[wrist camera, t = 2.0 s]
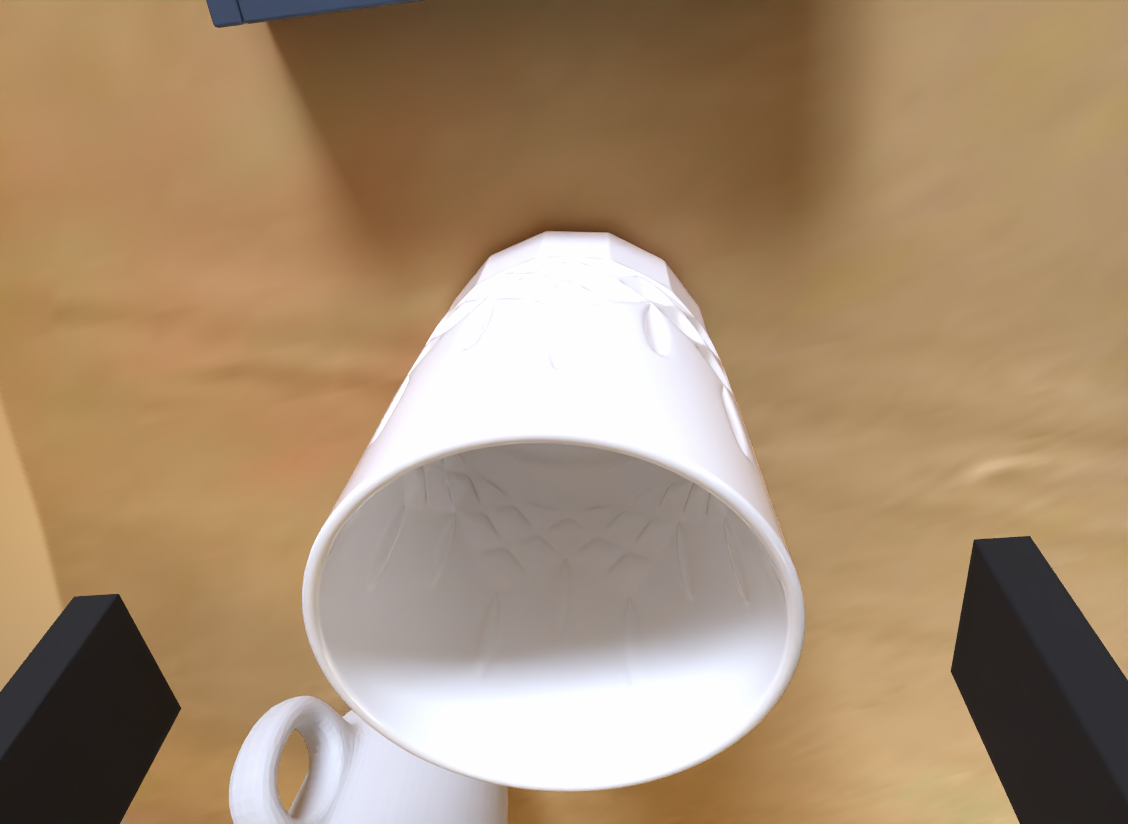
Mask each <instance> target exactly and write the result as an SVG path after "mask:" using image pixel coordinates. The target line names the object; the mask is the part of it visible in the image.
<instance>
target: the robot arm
mask: <svg viewBox="0 0 1128 824" xmlns="http://www.w3.org/2000/svg"><path fill="white" fill-rule="evenodd" d="M951 673H952V675H953V677H954V679H955V682H956V684H957V686H958V688H959V690H960V693H961V695H962V697H963V699H964V701H965V704H966V706H967V708H968V710H969V712H970V715H971V717H972V719H973V721H974V723H975V726H976V728H977V730H978V732H979V734H980V737H981V739H982V741H983V743H984V745H985V748H986V750H987V752H988V754H989V756H990V759H991V761H992V763H993V765H994V767H995V770H996V772H997V774H998V776H999V778H1000V781H1001V783H1002V785H1003V787H1004V789H1005V792H1006V794H1007V796H1008V798H1009V800H1010V803H1011V805H1012V807H1013V809H1014V811H1015V814H1016V816H1017V818H1018V820H1019V823H1020V824H1128V680H1127V679H1126V677H1125V676H1124V674H1123V673H1122V671H1121V670H1120V668H1119V667H1118V665H1117V664H1116V662H1115V661H1114V659H1113V658H1112V657H1111V655H1110V654H1109V652H1108V651H1107V649H1106V648H1105V646H1104V645H1103V643H1102V642H1101V640H1100V639H1099V637H1098V636H1097V634H1096V633H1095V631H1094V630H1093V628H1092V627H1091V626H1090V624H1089V623H1088V621H1087V620H1086V618H1085V617H1084V615H1083V614H1082V612H1081V611H1080V609H1079V608H1078V606H1077V605H1076V603H1075V602H1074V600H1073V599H1072V598H1071V596H1070V595H1069V593H1068V592H1067V590H1066V589H1065V587H1064V586H1063V584H1062V583H1061V581H1060V580H1059V578H1058V577H1057V575H1056V574H1055V572H1054V571H1053V570H1052V568H1051V567H1050V565H1049V564H1048V562H1047V561H1046V559H1045V558H1044V556H1043V555H1042V553H1041V552H1040V550H1039V549H1038V547H1037V546H1036V544H1035V543H1034V542H1033V540H1032V539H1031V537H1030V536H1024V537H1008V538H993V539H977V540H974V543H973V548H972V554H971V560H970V565H969V571H968V577H967V582H966V588H965V594H964V599H963V605H962V611H961V616H960V622H959V628H958V633H957V639H956V645H955V650H954V656H953V662H952V667H951ZM180 710H181V707H180V705H179V703H178V702H177V700H176V698H175V696H174V694H173V692H172V691H171V689H170V687H169V685H168V683H167V681H166V680H165V678H164V676H163V674H162V672H161V670H160V669H159V667H158V665H157V663H156V661H155V659H154V658H153V656H152V654H151V652H150V650H149V648H148V647H147V645H146V643H145V641H144V639H143V637H142V636H141V634H140V632H139V630H138V628H137V626H136V625H135V623H134V621H133V619H132V617H131V615H130V614H129V612H128V610H127V608H126V606H125V604H124V603H123V601H122V599H121V597H120V595H119V594H109V595H94V596H78V597H74V598H73V599H72V600H71V601H70V603H69V604H68V605H67V607H66V608H65V609H64V610H63V612H62V613H61V614H60V616H59V617H58V618H57V620H56V621H55V622H54V623H53V625H52V626H51V627H50V629H49V630H48V631H47V632H46V634H45V635H44V636H43V638H42V639H41V640H40V642H39V643H38V644H37V645H36V647H35V648H34V649H33V651H32V652H31V653H30V654H29V656H28V657H27V659H26V660H25V661H24V662H23V664H22V665H21V666H20V667H19V669H18V670H17V671H16V673H15V674H14V675H13V677H12V678H11V679H10V680H9V682H8V683H7V684H6V686H5V687H4V688H3V689H2V691H1V692H0V824H120V822H121V821H122V819H123V817H124V815H125V813H126V811H127V809H128V807H129V806H130V804H131V802H132V800H133V798H134V796H135V794H136V792H137V790H138V789H139V787H140V785H141V783H142V781H143V779H144V777H145V775H146V774H147V772H148V770H149V768H150V766H151V764H152V762H153V760H154V758H155V757H156V755H157V753H158V751H159V749H160V747H161V745H162V743H163V742H164V740H165V738H166V736H167V734H168V732H169V730H170V728H171V727H172V725H173V723H174V721H175V719H176V717H177V715H178V713H179V711H180Z"/></svg>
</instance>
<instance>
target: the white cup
mask: <svg viewBox="0 0 1128 824" xmlns="http://www.w3.org/2000/svg"><path fill="white" fill-rule="evenodd" d="M302 611H303V619H304V625H305V629H306V633H307V637H308V640H309V643H310V646H311V649H312V651H313V654H314V656H315V658H316V660H317V662H318V664H319V666H320V668H321V670H322V672H323V673H324V675H325V677H326V678H327V680H328V681H329V683H330V684H331V686H332V687H333V688H334V690H335V691H336V692H337V694H338V695H339V696H340V697H341V698H342V700H343V701H344V702H345V703H346V704H347V705H348V706H349V707H350V708H351V709H352V710H353V711H354V712H355V713H356V714H357V715H358V716H359V717H360V718H361V719H362V720H363V721H364V722H366V723H367V724H368V725H369V726H370V727H372V728H373V729H374V730H375V731H377V732H378V733H379V734H381V735H382V736H384V737H385V738H386V739H388V740H389V741H391V742H392V743H394V744H396V745H397V746H399V747H400V748H402V749H404V750H406V751H407V752H409V753H411V754H413V755H415V756H417V757H419V758H421V759H423V760H425V761H427V762H429V763H431V764H434V765H436V766H438V767H441V768H443V769H446V770H449V771H451V772H454V773H457V774H460V775H463V776H466V777H469V778H473V779H476V780H480V781H484V782H488V783H492V784H496V785H501V786H507V787H512V788H519V789H527V790H536V791H549V792H588V791H601V790H610V789H617V788H624V787H629V786H634V785H639V784H644V783H648V782H652V781H655V780H659V779H662V778H665V777H669V776H672V775H674V774H677V773H680V772H683V771H685V770H688V769H690V768H692V767H695V766H697V765H699V764H701V763H703V762H705V761H707V760H709V759H711V758H713V757H715V756H716V755H718V754H720V753H721V752H723V751H725V750H726V749H728V748H729V747H731V746H732V745H734V744H735V743H737V742H738V741H739V740H741V739H742V738H743V737H744V736H746V735H747V734H748V733H749V732H750V731H752V730H753V729H754V728H755V727H756V726H757V725H758V724H759V723H760V722H761V721H762V720H763V719H764V718H765V717H766V716H767V715H768V713H769V712H770V711H771V710H772V709H773V707H774V706H775V705H776V703H777V702H778V701H779V699H780V698H781V696H782V695H783V693H784V692H785V690H786V688H787V687H788V685H789V683H790V681H791V679H792V677H793V675H794V672H795V670H796V667H797V665H798V662H799V658H800V655H801V651H802V646H803V641H804V633H805V607H804V599H803V594H802V589H801V585H800V581H799V578H798V575H797V572H796V569H795V566H794V564H793V561H792V558H791V555H790V552H789V550H788V547H787V544H786V541H785V538H784V535H783V532H782V530H781V527H780V524H779V521H778V518H777V515H776V512H775V510H774V507H773V504H772V501H771V498H770V495H769V492H768V489H767V486H766V484H765V481H764V478H763V475H762V472H761V469H760V466H759V463H758V460H757V457H756V454H755V451H754V448H753V445H752V442H751V440H750V437H749V434H748V431H747V428H746V425H745V422H744V419H743V416H742V413H741V411H740V408H739V405H738V403H737V400H736V398H735V396H734V394H733V392H732V390H731V386H730V383H729V380H728V377H727V375H726V372H725V369H724V366H723V364H722V362H721V360H720V358H719V356H718V353H717V351H716V349H715V347H714V345H713V343H712V342H711V340H710V338H709V336H708V333H707V330H706V327H705V324H704V321H703V317H702V314H701V311H700V308H699V306H698V305H697V303H696V302H695V301H694V299H693V298H692V297H691V295H690V294H689V293H688V291H687V290H686V289H685V287H684V286H683V285H682V283H681V282H680V281H679V279H678V278H677V277H676V275H675V274H674V273H673V271H672V270H671V269H670V267H669V266H668V265H667V263H666V262H665V261H664V260H663V259H661V258H659V257H657V256H655V255H653V254H651V253H649V252H647V251H645V250H643V249H641V248H639V247H637V246H635V245H633V244H631V243H629V242H627V241H625V240H623V239H621V238H619V237H617V236H615V235H613V234H611V233H607V232H569V231H545V232H542V233H540V234H538V235H536V236H533V237H531V238H529V239H527V240H524V241H522V242H520V243H518V244H515V245H513V246H511V247H509V248H506V249H504V250H502V251H500V252H497V253H495V254H493V255H491V256H490V257H489V258H488V259H487V260H486V261H485V263H484V264H483V265H482V266H481V268H480V269H479V270H478V271H477V273H476V274H475V275H474V276H473V278H472V279H471V280H470V281H469V283H468V284H467V285H466V286H465V287H464V289H463V290H462V291H461V292H460V294H459V295H458V296H457V297H456V299H455V300H454V302H453V303H452V305H451V307H450V309H449V311H448V313H447V314H446V315H445V316H444V317H443V319H442V320H441V321H440V323H439V324H438V326H437V327H436V329H435V330H434V332H433V333H432V335H431V336H430V338H429V340H428V342H427V343H426V345H425V347H424V348H423V350H422V351H421V353H420V355H419V357H418V359H417V360H416V362H415V363H414V365H413V367H412V368H411V370H410V372H409V374H408V375H407V377H406V378H405V380H404V381H403V383H402V384H401V386H400V387H399V389H398V391H397V393H396V394H395V396H394V398H393V400H392V402H391V403H390V405H389V407H388V409H387V411H386V413H385V415H384V416H383V418H382V420H381V422H380V424H379V426H378V427H377V429H376V431H375V433H374V435H373V437H372V438H371V440H370V442H369V444H368V446H367V448H366V449H365V451H364V453H363V455H362V457H361V459H360V460H359V462H358V464H357V466H356V468H355V470H354V471H353V473H352V475H351V477H350V479H349V480H348V482H347V484H346V486H345V488H344V489H343V491H342V493H341V495H340V497H339V498H338V500H337V502H336V504H335V505H334V507H333V509H332V511H331V513H330V514H329V516H328V518H327V520H326V521H325V523H324V525H323V527H322V529H321V530H320V532H319V534H318V536H317V538H316V540H315V542H314V544H313V547H312V549H311V552H310V554H309V557H308V561H307V564H306V568H305V573H304V579H303V587H302Z"/></svg>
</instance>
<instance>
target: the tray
mask: <svg viewBox="0 0 1128 824" xmlns="http://www.w3.org/2000/svg"><path fill="white" fill-rule="evenodd" d="M206 1H207V5H208V8H209V11H210V14H211V18H212V21H213V24H214V26H215V27H218V28H221V27H228V26H236V25H242V24H246V23H248V24H251V23H258V22H265V21H273V20H280V19H288V18H295V17H303V16H310V15H317V14H325V13H332V12H340V11H347V10H354V9H362V8H369V7H377V6H384V5H392V4H399V3H406V2H414V1H421V0H206Z"/></svg>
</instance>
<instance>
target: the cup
mask: <svg viewBox="0 0 1128 824" xmlns="http://www.w3.org/2000/svg"><path fill="white" fill-rule="evenodd" d="M294 729H295V730H297V731H298V732H299V733H300V734H301V735H302V737H303V738H304V740H305V743H306V745H307V749H308V753H309V770H308V772H307V774H306V776H305V778H304V780H303V783H302V785H301V787H300V789H299V791H298V793H297V795H296V797H295V799H294V801H293V803H292V805H291V807H290V810H289V812H288V813H287V811H286V810H285V809H284V807H283V805H282V803H281V801H280V798H279V794H278V788H277V773H278V766H279V761H280V757H281V754H282V751H283V748H284V746H285V743H286V741H287V739H288V738H289V736H290V734H291V733H292V732H293V730H294ZM229 807H230V812H231V816H232V819H233V822H234V824H508V787H507V786H501V785H496V784H492V783H488V782H484V781H480V780H476V779H473V778H469V777H466V776H463V775H460V774H457V773H454V772H451V771H449V770H446V769H443V768H441V767H438V766H436V765H434V764H431V763H429V762H427V761H425V760H423V759H421V758H419V757H417V756H415V755H413V754H411V753H409V752H407V751H406V750H404V749H402V748H400V747H399V746H397V745H396V744H394V743H392V742H391V741H389V740H388V739H386V738H385V737H384V736H382V735H381V734H379V733H378V732H377V731H375V730H374V729H373V728H372V727H370V726H369V725H368V724H367V723H366V722H364V721H363V720H362V719H361V718H360V717H359V716H358V715H357V714H356V713H355V712H354V711H353V710H351V711H349V712H348V713H347V714H346V715H344V716H343V717H341V716H340V715H339V714H338V713H337V712H336V711H335V710H334V709H333V708H332V707H331V706H330V705H328V704H327V703H325V702H324V701H323V700H321V699H319V698H316V697H312V696H299V697H294V698H291V699H287V700H285V701H283V702H281V703H279V704H277V705H275V706H273V707H272V708H271V709H270V710H269V711H267V712H266V713H265V714H264V715H263V716H262V717H261V718H260V719H259V720H258V721H257V723H256V724H255V725H254V726H253V728H252V729H251V731H250V733H249V734H248V736H247V737H246V739H245V741H244V743H243V745H242V747H241V749H240V751H239V753H238V756H237V759H236V761H235V764H234V767H233V771H232V775H231V778H230V787H229Z"/></svg>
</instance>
